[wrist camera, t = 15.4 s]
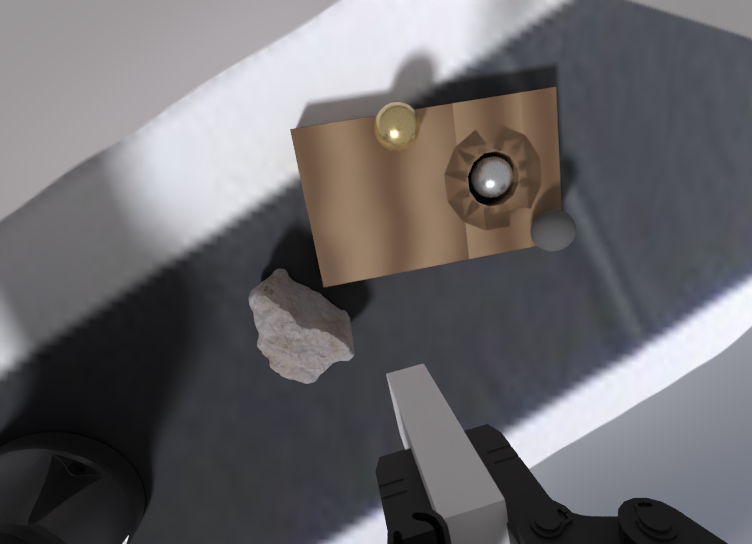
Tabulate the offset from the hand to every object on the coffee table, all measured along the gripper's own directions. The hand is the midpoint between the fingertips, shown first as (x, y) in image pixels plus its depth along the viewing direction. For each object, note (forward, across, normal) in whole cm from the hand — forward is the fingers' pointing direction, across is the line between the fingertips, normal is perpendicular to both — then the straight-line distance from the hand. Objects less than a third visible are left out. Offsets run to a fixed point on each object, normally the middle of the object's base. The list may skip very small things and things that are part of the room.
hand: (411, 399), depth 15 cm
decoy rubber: (+16, +17, +1) cm, 24 cm away
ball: (+19, +13, +6) cm, 24 cm away
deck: (+21, +8, +6) cm, 23 cm away
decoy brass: (+17, +5, +12) cm, 21 cm away
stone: (+22, -6, -3) cm, 23 cm away
